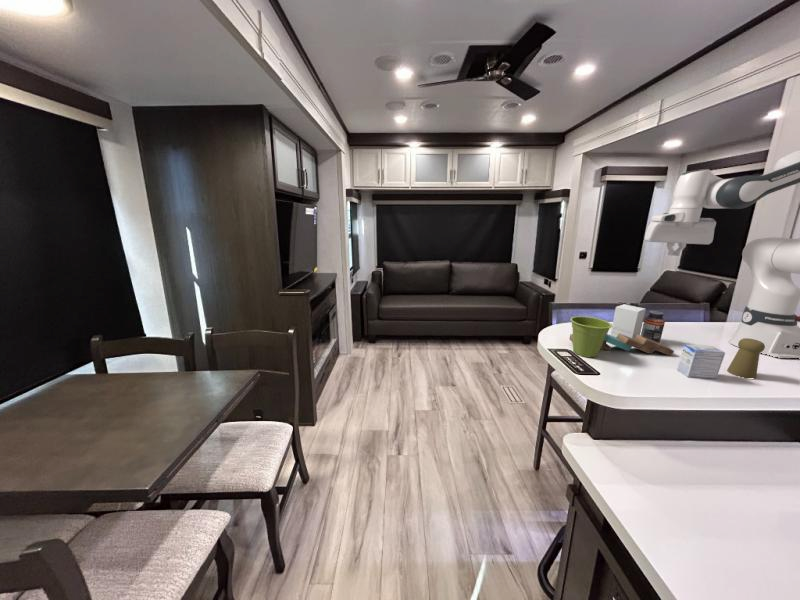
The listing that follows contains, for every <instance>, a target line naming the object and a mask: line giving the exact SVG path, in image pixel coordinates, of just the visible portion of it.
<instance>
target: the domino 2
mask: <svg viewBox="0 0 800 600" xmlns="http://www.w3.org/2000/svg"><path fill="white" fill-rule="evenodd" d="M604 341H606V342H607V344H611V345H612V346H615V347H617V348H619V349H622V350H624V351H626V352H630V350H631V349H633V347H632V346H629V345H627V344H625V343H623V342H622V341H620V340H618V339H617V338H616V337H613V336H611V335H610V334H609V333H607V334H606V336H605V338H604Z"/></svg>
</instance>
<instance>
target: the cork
mask: <svg viewBox="0 0 800 600" xmlns="http://www.w3.org/2000/svg"><path fill="white" fill-rule="evenodd" d="M738 346H739V347H738V350H737V352H736V354H735V355H734V358H733V359H732V361H731V363H730V364H729V366H728V368H727V370H726V371H727V372H728V373H729V374H731V375H733V376H736V377H738V376H740V377H739V378H742V377H744V378H743V379H747V378H757V374H758V368H759V360H760V354H761V352H762V351H763V350H764V348H765V345H764V343H762V342H761V341H758V340H755V339H749V338H744V339H741V340H740V341H739V343H738Z"/></svg>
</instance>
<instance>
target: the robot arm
mask: <svg viewBox="0 0 800 600" xmlns="http://www.w3.org/2000/svg"><path fill="white" fill-rule="evenodd" d="M796 185H800V149H798V150H795V151H793V152H790V153H788V154H787V155H785V156H783V157H781V158H779V159H778V160H777V161H776V162H775V164H774V166H773V170H772V171H770V172H767V173H764V174H762V175H742V176H737V177H731V178H722V177H719V176H718V175H715V174H714V173H713V172H712V171H711V170H710V169H709V168H702V169H701V168H700V169H694V170H689V171H685V172H684V173H682V174H681V175H679V177H678V180H677V182H676V184H675V187H674V191H673V194H672V203H671V205H670V208H669V210H668V212H664V213H660V214H655V215H653V216H652V217H651V221H652V222H651V223H649V224H648V225H647V226H648V227H647V229H646V231H645V235H644V240H645V242H647V243H660V244H661V243H663V244H664V243H665V244H666V247H667V251H668V252H667V255H668V256H671V257H673V256H675V257H679V256H681V252H682V251H683V250H684V249H685V248H687V244H689V245H690V244H691V245H693V244H694V245H710V244H712V243H713V240H714V236H715V235H714V234H715V229H716V225H717V221H716V220H715V219H714V218H711V217H701V215H702V211H703V208H704V209H731V210H740V209H741V210H742V209H745V208H748V207H750V206H753V205H754V204H755V203H757V202H758V201H760V200H761V199H762V198H764V197H765V196H767V195H770V194H772V193H774V192H775V193H776V192H777V191H781V190H783V189H786V188H789V187H792V186H796ZM675 244H677V249H675V250H674V248H673V247H675ZM741 256H742V257H741V258H742V260H743V261H744V262H745V263H746V265H747V266H748V267H749V270H750V272H751V276H752V289H751V292H750V296H749V299H748V303H747V306H745V307H744V309H743V312H742V314H741V321H740V323H739V325H738V327H737V329H736V330H735V333H734V334H733V335H732V336H731V338H730V339H729V340H728V343H730V344H731V345H733V346H735V347H738V348H739V346H738V343H739V341H740V340H741V339H744V338H749V339H755V340H758V341H761V342H762V343H764V345H765V348H764V350H763V351H762V352H761V353H762V355H765V354H767V356H769V355H770V356H769V357H772V356H773V358H775V357H778V358H777V359H780V358H800V327H799V326H798V322H800V315H799V316H798V315H797V314H796V311H797V308H798V306H799V303H800V288H799V286H797V285H796V284H795V283H794V281H793V280H792V275H791V274H795V275H796V274H797V275H800V237H798V238H790V237H789V238H788V237H775V236H773V237H763V238H756V239H753V240H751V241H749V242H748V243H747V244H746V245H745V246H744V248H743V249H742V252H741ZM761 353H760V354H761Z"/></svg>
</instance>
